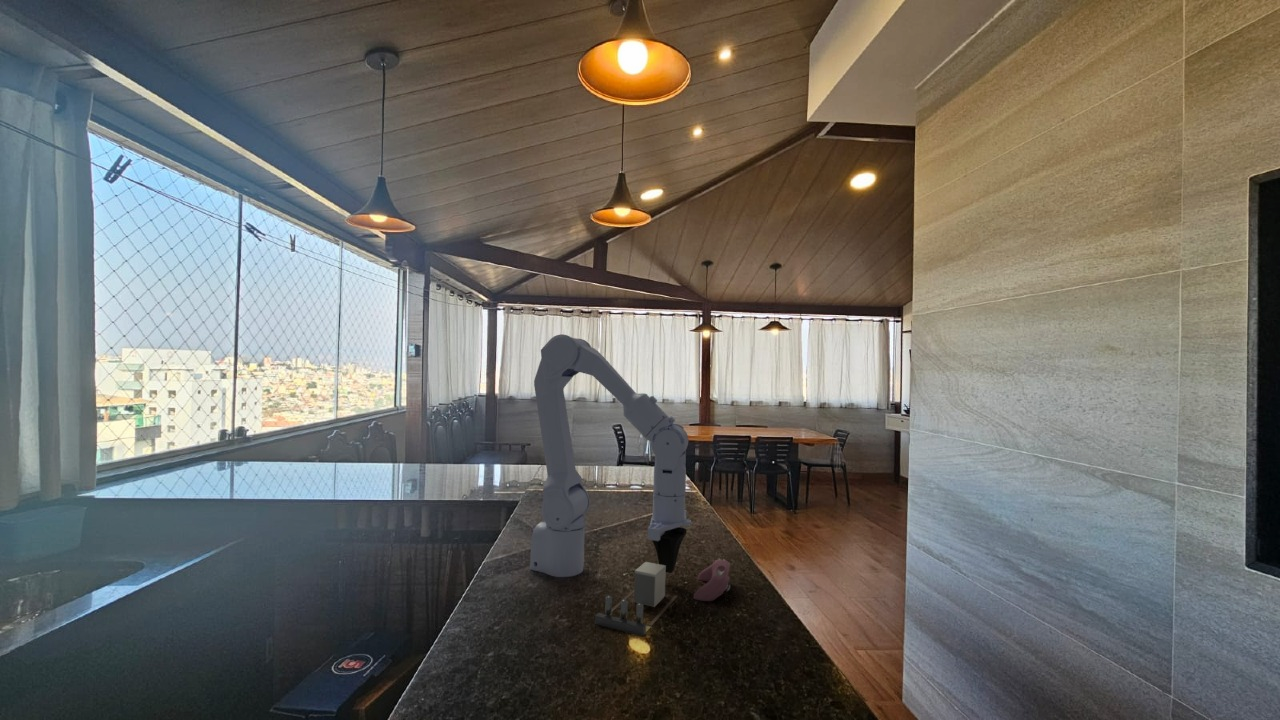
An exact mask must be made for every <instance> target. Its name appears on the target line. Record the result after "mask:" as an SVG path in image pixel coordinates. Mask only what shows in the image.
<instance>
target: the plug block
mask: <svg viewBox="0 0 1280 720" xmlns="http://www.w3.org/2000/svg"><path fill="white" fill-rule="evenodd" d="M666 573H667V572H666V566H665V565H660V564H659V563H655V562H648V561H645V562H644V563H642V564H641V565H640V566H638V568H636V569H635V570H634V584H633V586H634V588H633V590H634V593H633V603H636V604H637V603H639V602H641V603H643V604H644V605H645V606H647V607H648V606H649V607H653V608H655V607H656V606H657V605H658V604H659V603H660V602H661V601H662V600H663V599H664V597H665V596H666Z"/></svg>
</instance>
